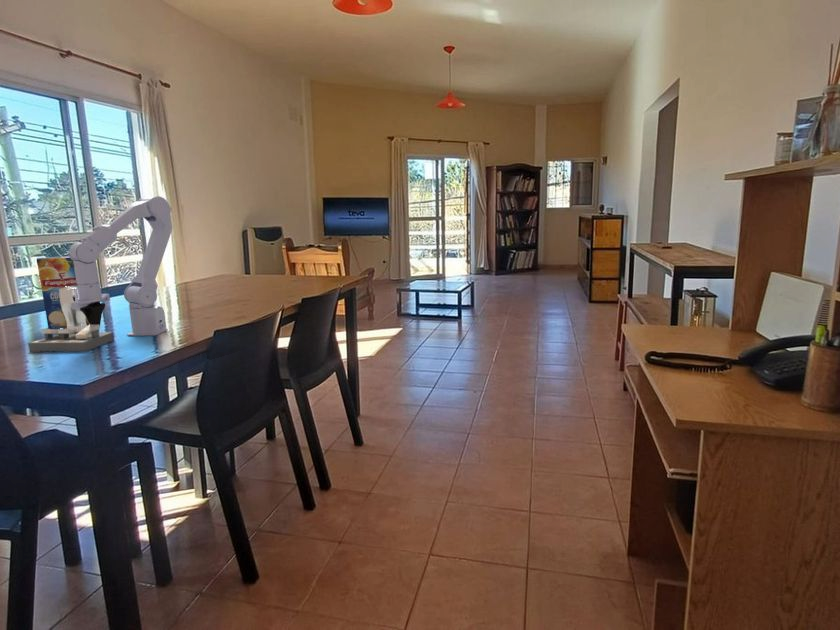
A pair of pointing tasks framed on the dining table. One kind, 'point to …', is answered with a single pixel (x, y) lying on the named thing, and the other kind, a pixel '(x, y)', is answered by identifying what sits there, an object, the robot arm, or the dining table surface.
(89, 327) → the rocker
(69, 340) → the switch unit
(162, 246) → the robot arm
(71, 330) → the rocker middle
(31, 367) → the dining table surface
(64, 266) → the juice carton
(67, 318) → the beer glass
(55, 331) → the rocker
